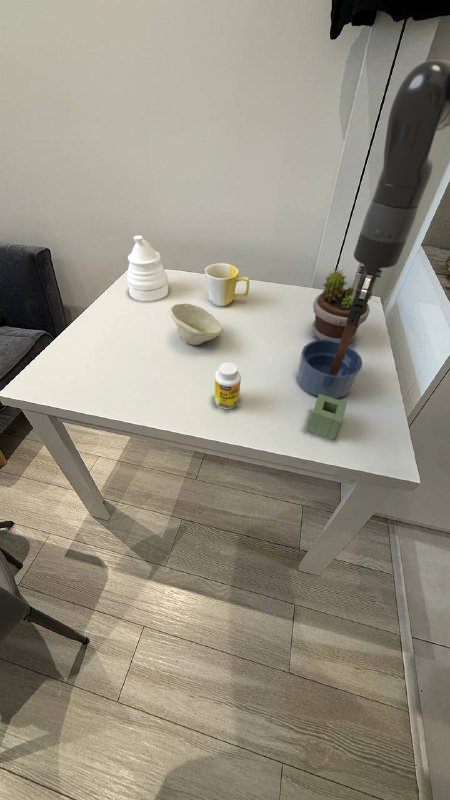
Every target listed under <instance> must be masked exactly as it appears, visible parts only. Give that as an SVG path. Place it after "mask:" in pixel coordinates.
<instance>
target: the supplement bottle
mask: <svg viewBox="0 0 450 800" xmlns="http://www.w3.org/2000/svg"><path fill="white" fill-rule="evenodd" d="M241 381H242V375H241V373H240V371H239V367H238V365H237V364H235V363H234V362H232V361H231V362H230V361H227V362H223V363H221V364H220V365H219V366H218V370H217V371H216V372H215V375H214V402H215V404H216V405H217V406H218V407H219V408H221V409H224V410H228V409H229V410H230V409H233V408H235V407H236V406H237V405H238V404H239V402H240V393H241V391H240V390H241Z"/></svg>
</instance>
